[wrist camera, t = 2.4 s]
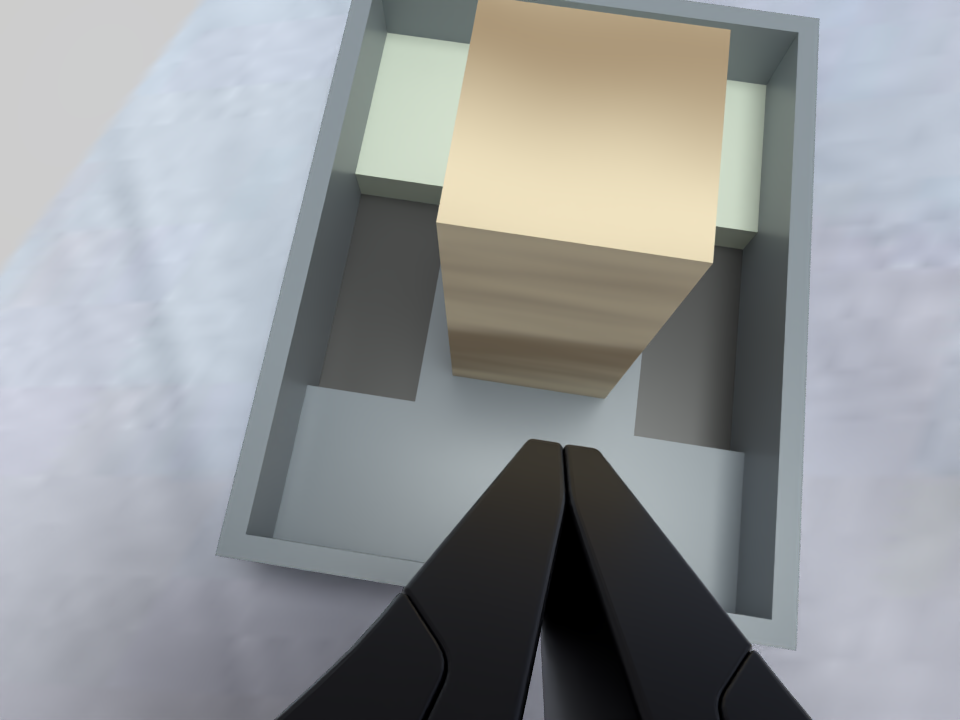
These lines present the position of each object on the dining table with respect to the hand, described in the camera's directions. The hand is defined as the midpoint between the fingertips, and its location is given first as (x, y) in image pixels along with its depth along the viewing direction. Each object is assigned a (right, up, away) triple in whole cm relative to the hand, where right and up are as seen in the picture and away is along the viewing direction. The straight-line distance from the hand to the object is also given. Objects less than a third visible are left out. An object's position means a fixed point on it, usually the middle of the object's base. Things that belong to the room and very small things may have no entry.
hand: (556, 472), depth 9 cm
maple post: (+1, +3, +13) cm, 13 cm away
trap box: (+1, +3, +15) cm, 15 cm away
